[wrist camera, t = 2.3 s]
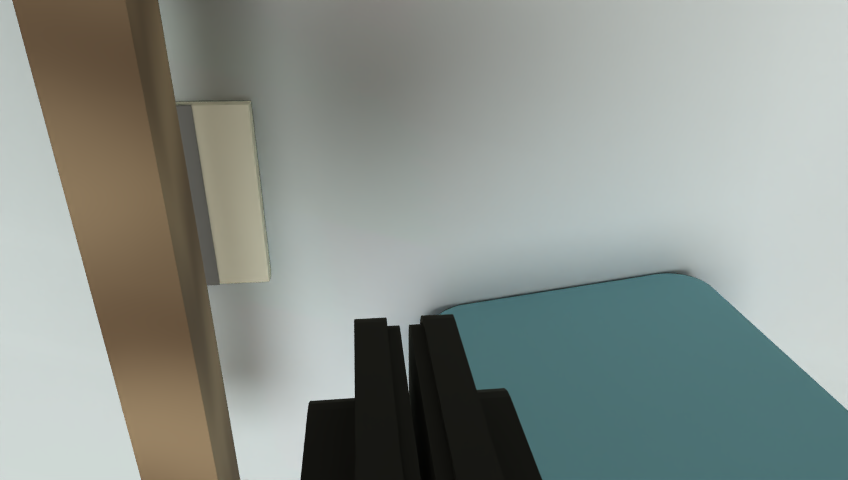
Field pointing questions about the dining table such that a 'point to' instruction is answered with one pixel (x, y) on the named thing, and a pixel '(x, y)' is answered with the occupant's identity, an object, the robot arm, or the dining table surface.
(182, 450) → the swing bar
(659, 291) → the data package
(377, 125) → the dining table surface
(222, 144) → the label tile
